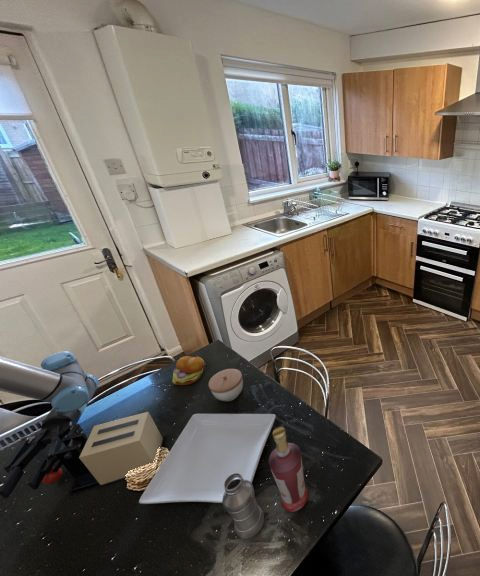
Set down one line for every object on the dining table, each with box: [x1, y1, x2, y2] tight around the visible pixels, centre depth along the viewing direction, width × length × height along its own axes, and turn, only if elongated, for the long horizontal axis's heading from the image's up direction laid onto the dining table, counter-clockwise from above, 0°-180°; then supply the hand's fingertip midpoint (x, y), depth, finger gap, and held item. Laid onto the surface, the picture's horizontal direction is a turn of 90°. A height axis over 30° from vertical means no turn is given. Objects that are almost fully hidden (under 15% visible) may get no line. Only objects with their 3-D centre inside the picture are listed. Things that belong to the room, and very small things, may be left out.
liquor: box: [268, 426, 309, 513], centre depth 75 cm, size 7×7×28 cm
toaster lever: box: [41, 439, 82, 485], centre depth 83 cm, size 14×4×4 cm
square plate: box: [138, 413, 277, 505], centre depth 91 cm, size 27×27×4 cm
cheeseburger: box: [172, 355, 205, 386], centre depth 119 cm, size 10×11×10 cm
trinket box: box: [208, 368, 244, 402], centre depth 111 cm, size 11×11×9 cm
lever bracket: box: [54, 431, 100, 493], centre depth 85 cm, size 6×9×14 cm, turn 22°
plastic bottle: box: [221, 473, 265, 540], centre depth 72 cm, size 6×7×20 cm
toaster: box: [79, 411, 165, 487], centre depth 88 cm, size 13×10×13 cm
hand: (18, 490), depth 77 cm, fingers open, 5 cm apart
